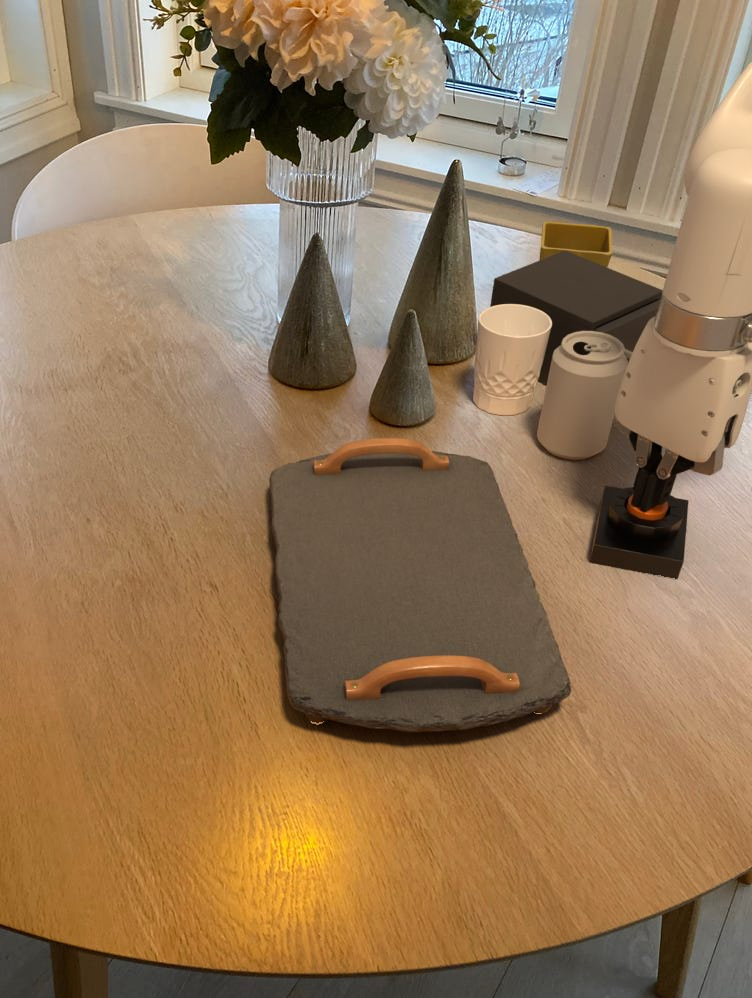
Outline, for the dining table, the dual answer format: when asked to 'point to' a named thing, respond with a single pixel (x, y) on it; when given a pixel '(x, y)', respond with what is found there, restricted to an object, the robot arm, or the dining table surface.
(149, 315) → the dining table surface
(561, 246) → the flower pot
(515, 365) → the white cup
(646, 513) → the button
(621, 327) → the drawer
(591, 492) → the dining table surface
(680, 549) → the panel
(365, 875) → the dining table surface
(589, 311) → the cabinet
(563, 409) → the can
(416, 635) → the serving tray
